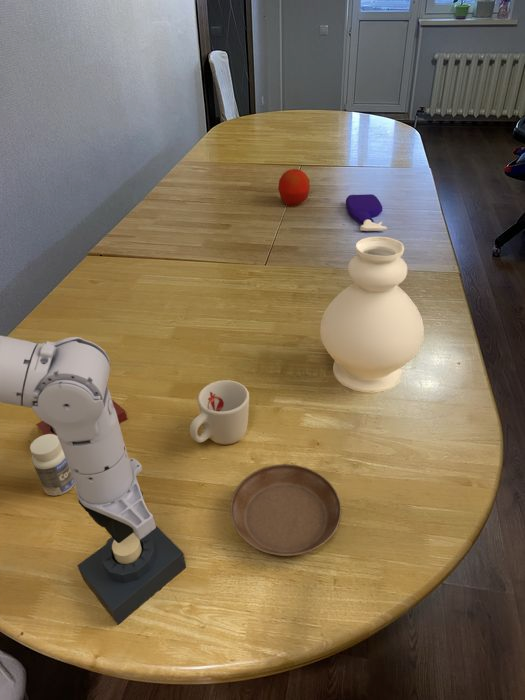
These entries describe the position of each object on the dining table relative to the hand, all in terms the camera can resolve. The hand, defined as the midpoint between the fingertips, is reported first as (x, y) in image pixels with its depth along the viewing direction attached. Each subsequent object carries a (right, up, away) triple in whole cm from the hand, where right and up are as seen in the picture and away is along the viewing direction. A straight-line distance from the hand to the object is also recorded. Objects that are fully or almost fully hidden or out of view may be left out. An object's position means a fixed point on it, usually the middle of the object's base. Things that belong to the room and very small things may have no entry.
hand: (122, 534), depth 60 cm
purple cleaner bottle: (+48, +62, +97) cm, 125 cm away
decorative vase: (+36, +17, +36) cm, 54 cm away
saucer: (+19, -2, +11) cm, 22 cm away
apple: (+27, +69, +109) cm, 132 cm away
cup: (+10, +7, +24) cm, 26 cm away
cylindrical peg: (0, -3, +2) cm, 4 cm away
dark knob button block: (0, -7, +5) cm, 8 cm away
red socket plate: (-14, +9, +27) cm, 31 cm away
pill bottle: (-14, +1, +17) cm, 22 cm away
